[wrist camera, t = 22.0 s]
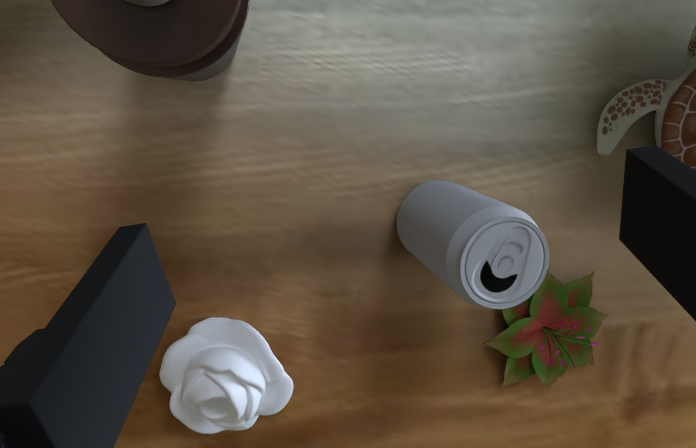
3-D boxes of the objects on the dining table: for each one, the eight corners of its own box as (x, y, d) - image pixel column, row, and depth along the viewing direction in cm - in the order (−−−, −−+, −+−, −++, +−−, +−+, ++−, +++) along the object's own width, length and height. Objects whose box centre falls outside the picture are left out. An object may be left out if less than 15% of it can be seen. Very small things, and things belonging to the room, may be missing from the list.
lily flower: (483, 402, 49) (508, 433, 44) (475, 275, 45) (501, 295, 41) (604, 372, 51) (639, 399, 46) (605, 249, 48) (643, 266, 43)
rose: (316, 353, 39) (278, 471, 41) (307, 327, 43) (273, 435, 45) (172, 325, 36) (138, 453, 38) (178, 300, 41) (146, 417, 42)
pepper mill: (218, -27, 36) (208, -225, 13) (250, 65, 38) (291, 34, 15) (128, 0, 35) (-54, -159, 12) (165, 92, 37) (67, 105, 14)
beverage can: (379, 238, 43) (435, 294, 32) (416, 163, 42) (488, 193, 31) (447, 268, 45) (523, 330, 33) (484, 197, 44) (575, 236, 33)
